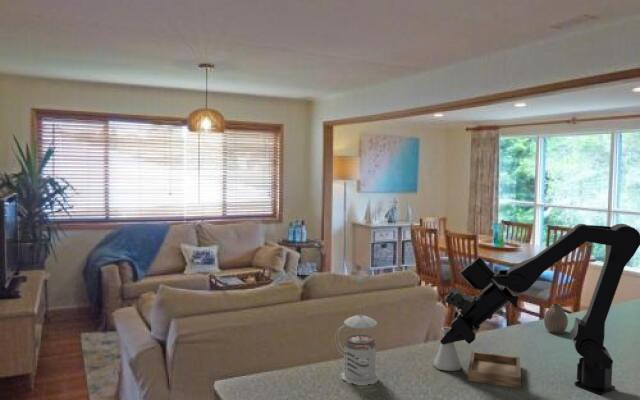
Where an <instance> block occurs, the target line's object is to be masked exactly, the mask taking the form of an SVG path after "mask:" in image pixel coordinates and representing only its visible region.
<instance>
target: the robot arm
mask: <svg viewBox="0 0 640 400" xmlns="http://www.w3.org/2000/svg"><path fill="white" fill-rule="evenodd" d="M585 243H594V244H599V245H604V246H605V253H604V254H605V258H604V262H603V264H602V268H601V271H600V274H599V276H598V279H597V282H596V285H595V288H594V291H593V294H592V296H591V300H590V302H589V306H588V308H587V311H586V313H585V315H584V316H583V317H582V318H581V319H580V318H579V317H575V318H574V324H573V327H572V329H571V330H570V331H569V332H570V334H571V339H572V340H571V341H572V343H573V346H574V348H575V349H574V350H576V352H577V354H579V355H580V356H581V357H579V360H578V363H577V366H576V380H577V381H575V382H574V385H575V386H577V387H578V388H579V387H580V388H582V389H585V390H587V391H590V392H592V393H595V394H598V395H602V394H606V393H608V392H610V391H613V390H615V389H616V386H615V385H612V380H613V363H614V361H613V358H612V356H611V354H610V353H609V351H608V349H607V347H606V346H604V342H605V328H606V327H605V326H606V325H605V324H606V320H607V317H608V315H609V313H610V312H609V311H610V309H611V306H612V303H613V301H614V298H615V295H616V291H617V290H618V287H619V284H620V281H621V278H622V275H623V272H624V270H625V267H626V265H627V264H628V263H629V262H630V261H631V259H633V257H634V256H635V254H636V252H637V251H638V249H639V247H640V232H639V231H638V229H636V228H635V227H632V226H630V225H628V224H626V223H616V224H614V225H612V226H608V225H593V224H592V225H590V224H585V223H578V224H576V225H574V227H573V228H572V229H570V231H568V232H566V233H565V234H564V235H563V236H561V237H560V238H558V239H557V240H555V242H552V243H551V244H550V245H549V246H547V247H546V248H544V249H543V250H542V251H540V252H538V254H536V255H535V256H532V257H531V258H528V259H526V260H525V259H524V260H523V261H521V262H518V263H516V264H515V265H512V266H510V267H509V268H508V269H499V270H498V269H497V270H493V268H491V267H490V265H488V263H486V261H485V259H484V258H483V257H482V256H480V255H479V256H478V257H477V258H476V259H474V260H473V261H472V262H469V263H467V265H465V267H463V268H462V269H461V270H460V272H459V275H460V276H461V277H462V278H463V279H464V280H465V281H466V282H467V283H468V284H469V286H471V288H473V289H474V290H478V291H479V290H480V291H482V292H481V293H480V294H479V295H477V294H476V295H474V296H473V297H470V296H469V295H467V294H466V293H463V292H462V291H460V290H458V289H457V288H454V287H450V289H449V291H448V293H447V296H446V297H445V299H444V302H445V303H446V304H448V305H452V306H453V307H456V308H457V310H460V311H459V312H458V311H456V310H455V311H454V313H453V315H454V316H453V318H452V319H451V324H450V326H449V327H450V330H449V331H448V332H447V333H446V334H445V336H444V337H443V335H442V336H441V339H440V341H439V342H440V344H441V343H442V344H443V345H444V344H448V343H452V342H454V343H456V342H461V341H465V342H466V343H467V344H468V345H470V344H472V342H474V341H476V337H477V336H476V335H477V331H478V330H479V329H480V328H481V325H482V324H483V323H485V322H486V321H487V320H491V319H493V317H494V315H495V314H496V313H497V312H498V311H500V310H501V309H503V307H505V306H506V305H507V304H509V303H510V304H511V305H512V306H513V307H514V308H518V305H519V304H518V300H519V294H521V293H522V294H523V293H525V292H527V291H528V290H529V289H530V288H531V287H532V286H533V285H534V284H535V283H536V282H537V281H538V279H539V278H540V277H541V276H542V275H543V274H544V272H546V271H547V270H548V269H549V268H551V267H552V266H554V265H555V264H557V263H558V262H560V261H561V260H562V259H564V258H565V257H567V256H568V255H569V254H571V253H572V252H573V251H575V250H577V249H578V248H579V247H581V246H582V245H584V244H585ZM491 283H492V284H491ZM490 284H491V285H490ZM489 285H490V286H489ZM487 287H488V288H487ZM512 292H513V293H512ZM515 293H516V294H515ZM442 337H443V338H442Z"/></svg>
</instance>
